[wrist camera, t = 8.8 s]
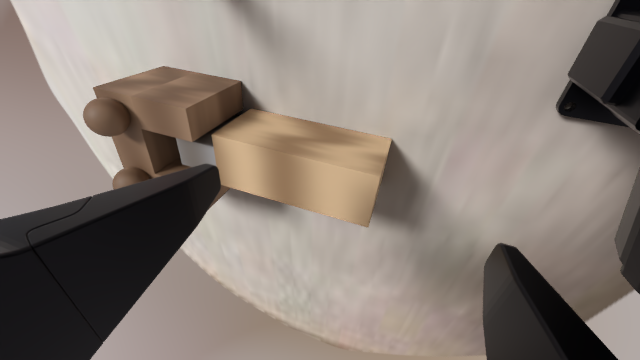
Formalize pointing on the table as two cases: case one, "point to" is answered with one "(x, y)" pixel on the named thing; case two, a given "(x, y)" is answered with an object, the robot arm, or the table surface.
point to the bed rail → (295, 162)
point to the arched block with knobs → (160, 118)
